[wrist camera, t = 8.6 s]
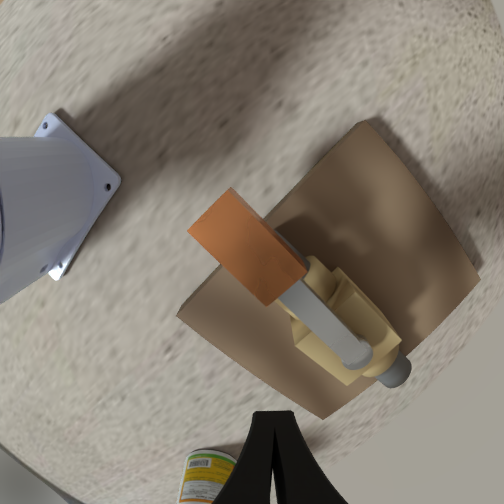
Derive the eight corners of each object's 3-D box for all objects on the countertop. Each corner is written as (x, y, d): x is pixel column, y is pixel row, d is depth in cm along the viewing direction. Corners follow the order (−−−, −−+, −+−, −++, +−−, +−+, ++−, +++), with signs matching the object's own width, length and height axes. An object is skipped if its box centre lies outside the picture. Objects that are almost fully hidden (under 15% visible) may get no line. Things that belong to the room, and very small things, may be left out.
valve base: (320, 407, 22) (330, 454, 18) (181, 305, 20) (160, 348, 15) (470, 272, 19) (510, 299, 14) (357, 122, 16) (391, 111, 11)
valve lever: (377, 341, 14) (386, 356, 13) (344, 366, 15) (350, 383, 14) (230, 186, 12) (227, 189, 11) (194, 223, 13) (186, 230, 12)
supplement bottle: (224, 479, 26) (217, 552, 17) (178, 463, 26) (161, 538, 16) (248, 458, 25) (245, 542, 16) (197, 441, 24) (181, 528, 15)
